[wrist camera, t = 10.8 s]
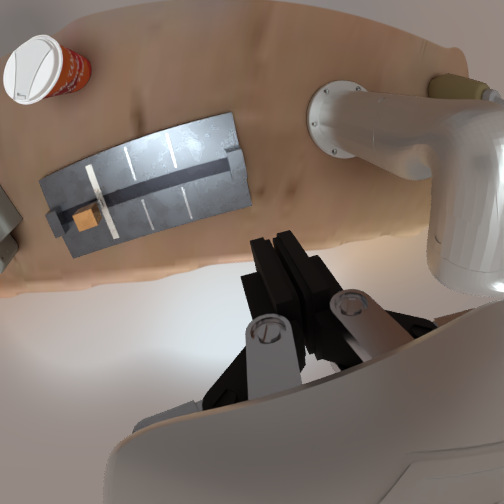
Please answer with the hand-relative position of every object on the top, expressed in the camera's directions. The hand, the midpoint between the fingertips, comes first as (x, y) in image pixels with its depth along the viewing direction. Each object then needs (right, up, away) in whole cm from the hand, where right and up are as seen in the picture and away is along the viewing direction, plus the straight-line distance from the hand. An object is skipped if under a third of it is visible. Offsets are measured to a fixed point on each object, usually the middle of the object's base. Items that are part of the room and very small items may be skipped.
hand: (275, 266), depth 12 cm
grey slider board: (-17, +10, +28) cm, 34 cm away
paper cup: (-26, +26, +17) cm, 40 cm away
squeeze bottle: (+34, +30, +28) cm, 53 cm away
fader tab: (-23, +7, +26) cm, 35 cm away
